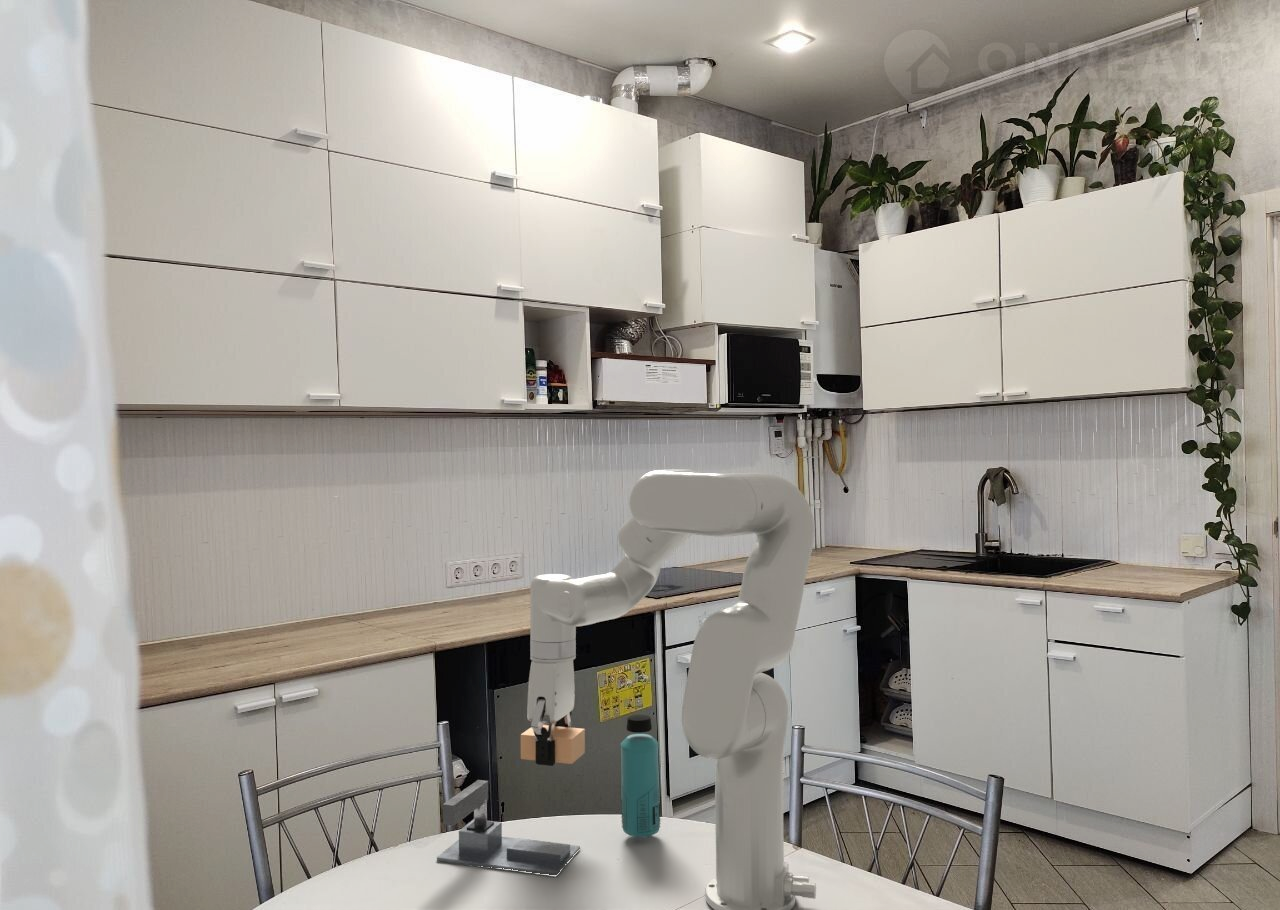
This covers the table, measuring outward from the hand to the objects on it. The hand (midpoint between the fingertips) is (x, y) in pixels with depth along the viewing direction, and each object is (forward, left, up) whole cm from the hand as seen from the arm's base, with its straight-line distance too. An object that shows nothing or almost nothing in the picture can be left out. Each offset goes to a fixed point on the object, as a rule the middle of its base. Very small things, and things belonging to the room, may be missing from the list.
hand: (553, 757), depth 151 cm
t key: (+9, +14, -8) cm, 18 cm away
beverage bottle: (-14, -3, -13) cm, 20 cm away
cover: (0, 0, 0) cm, 0 cm away
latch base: (+4, +9, -13) cm, 16 cm away
